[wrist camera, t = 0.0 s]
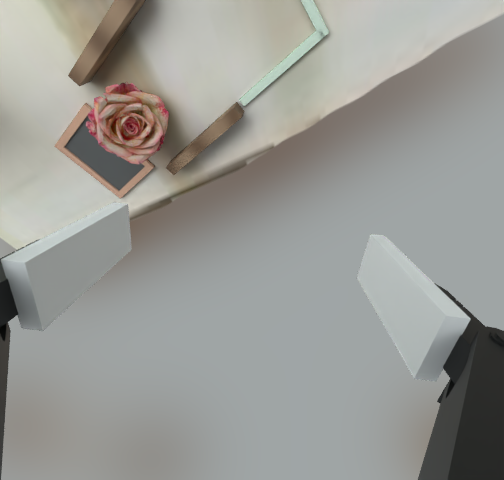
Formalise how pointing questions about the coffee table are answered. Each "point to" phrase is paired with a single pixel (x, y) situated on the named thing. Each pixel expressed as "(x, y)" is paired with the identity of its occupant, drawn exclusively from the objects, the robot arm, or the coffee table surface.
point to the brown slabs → (99, 49)
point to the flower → (128, 122)
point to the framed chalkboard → (99, 157)
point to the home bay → (295, 55)
